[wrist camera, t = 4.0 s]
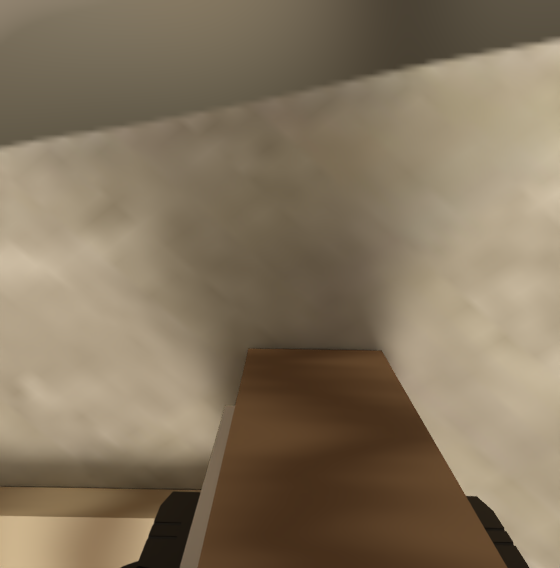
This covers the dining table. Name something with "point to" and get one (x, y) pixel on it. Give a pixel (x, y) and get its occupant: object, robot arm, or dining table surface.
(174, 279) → the dining table surface
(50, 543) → the board
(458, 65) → the dining table surface
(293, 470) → the block
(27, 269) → the dining table surface
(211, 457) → the robot arm
